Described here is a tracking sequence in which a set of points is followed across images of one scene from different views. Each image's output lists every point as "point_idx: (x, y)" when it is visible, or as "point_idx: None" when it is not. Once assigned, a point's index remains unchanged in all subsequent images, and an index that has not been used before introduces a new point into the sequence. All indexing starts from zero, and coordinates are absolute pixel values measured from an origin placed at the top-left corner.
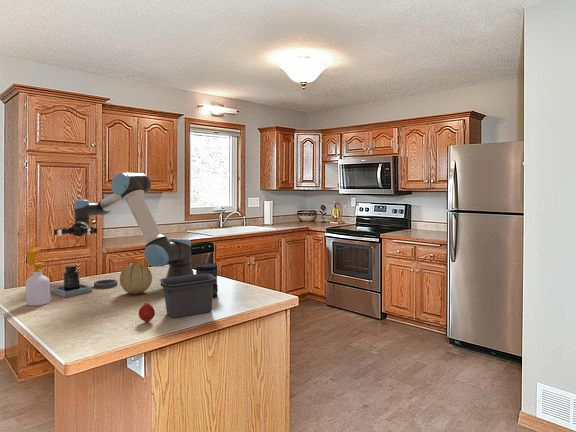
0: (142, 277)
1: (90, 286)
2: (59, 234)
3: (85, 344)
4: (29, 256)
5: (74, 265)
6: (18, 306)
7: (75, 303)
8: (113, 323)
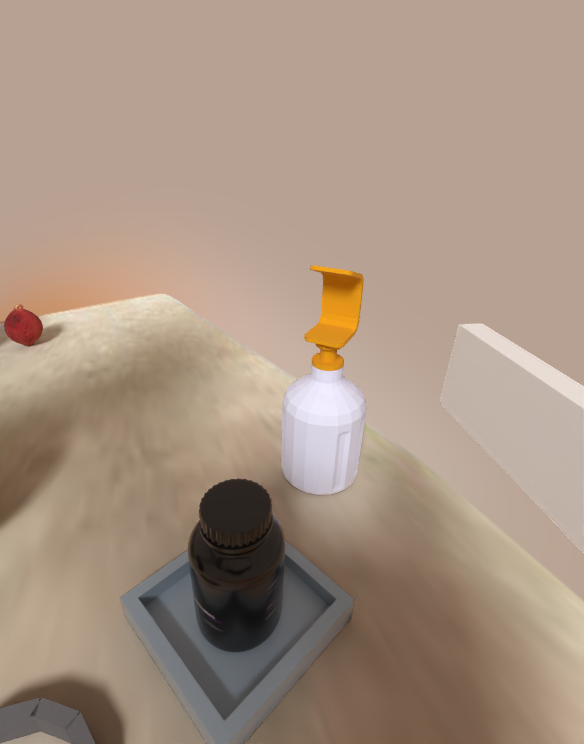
0: None
1: (129, 606)
2: (460, 395)
3: (145, 311)
4: (349, 292)
5: (213, 514)
6: (366, 449)
7: (188, 455)
8: (94, 348)
